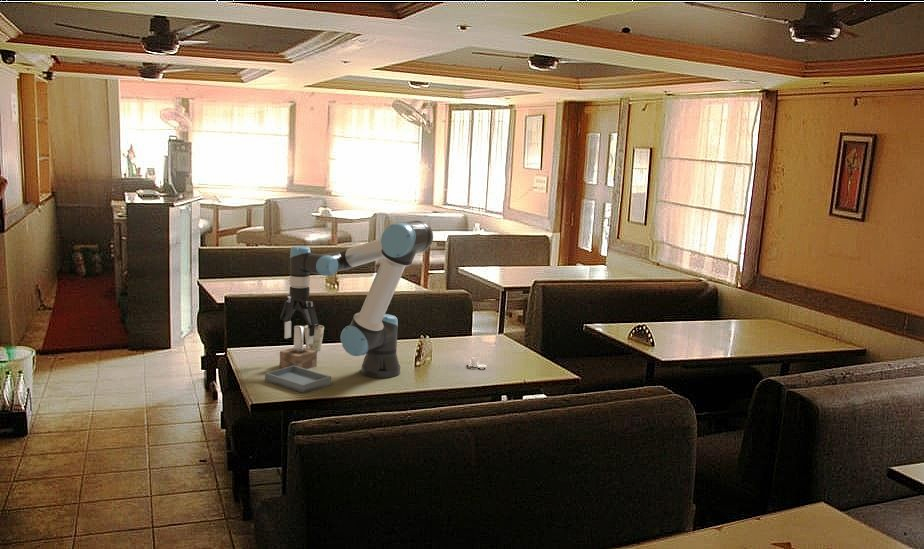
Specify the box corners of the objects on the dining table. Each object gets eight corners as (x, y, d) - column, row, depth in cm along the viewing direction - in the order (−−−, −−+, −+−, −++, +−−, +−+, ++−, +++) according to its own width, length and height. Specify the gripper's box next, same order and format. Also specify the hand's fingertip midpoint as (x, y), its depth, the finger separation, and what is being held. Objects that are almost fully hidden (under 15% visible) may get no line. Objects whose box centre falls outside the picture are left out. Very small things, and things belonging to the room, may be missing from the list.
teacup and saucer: (489, 370, 308) (489, 360, 308) (472, 372, 304) (473, 362, 304) (477, 364, 316) (478, 354, 315) (461, 366, 312) (462, 356, 311)
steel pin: (304, 366, 299) (305, 326, 296) (298, 368, 296) (298, 328, 293) (298, 364, 301) (299, 325, 298) (291, 366, 298) (292, 326, 295)
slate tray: (331, 384, 279) (331, 376, 278) (303, 393, 267) (303, 385, 267) (293, 372, 290) (293, 365, 289) (264, 380, 279) (264, 373, 278)
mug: (325, 347, 326) (326, 325, 325) (317, 355, 314) (318, 332, 312) (306, 346, 327) (307, 323, 325) (297, 354, 315) (298, 330, 313)
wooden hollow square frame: (316, 366, 300) (316, 351, 299) (297, 371, 292) (297, 356, 291) (298, 361, 305) (299, 346, 304) (279, 366, 297) (279, 351, 296)
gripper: (329, 289, 289) (327, 344, 293) (285, 280, 303) (284, 333, 306) (314, 292, 283) (313, 348, 287) (271, 282, 297) (270, 336, 300)
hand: (298, 340), depth 297 cm, fingers open, 12 cm apart
